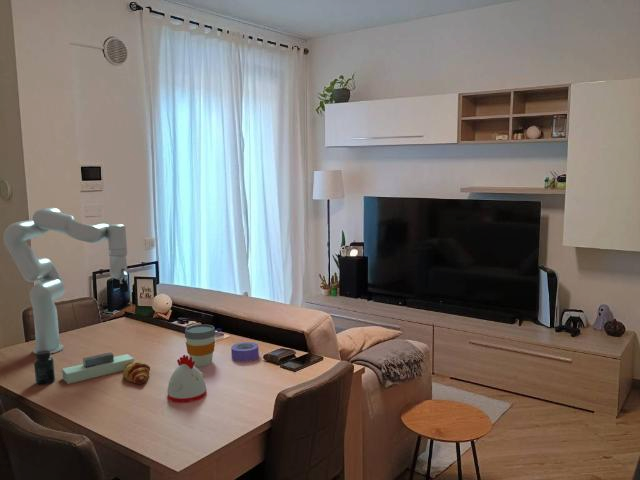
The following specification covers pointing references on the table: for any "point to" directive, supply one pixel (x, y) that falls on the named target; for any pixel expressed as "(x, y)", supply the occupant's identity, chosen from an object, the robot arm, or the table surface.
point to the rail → (95, 369)
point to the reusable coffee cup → (200, 344)
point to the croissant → (136, 372)
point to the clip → (98, 360)
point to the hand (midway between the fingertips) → (120, 290)
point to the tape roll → (245, 351)
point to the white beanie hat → (186, 382)
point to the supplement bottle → (44, 368)
